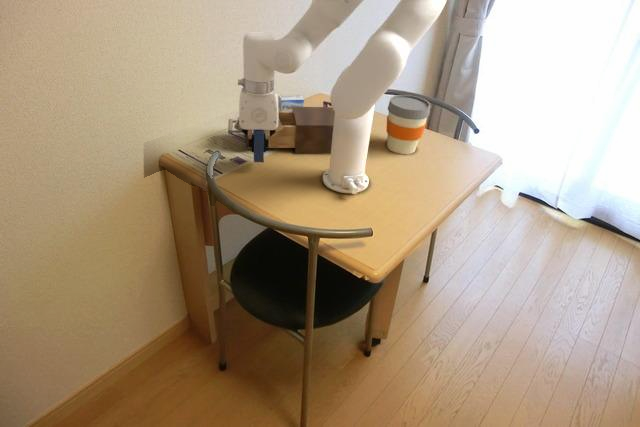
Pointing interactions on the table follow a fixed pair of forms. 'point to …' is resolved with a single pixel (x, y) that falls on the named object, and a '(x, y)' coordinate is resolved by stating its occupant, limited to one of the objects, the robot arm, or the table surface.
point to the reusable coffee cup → (406, 122)
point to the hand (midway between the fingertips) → (258, 149)
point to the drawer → (280, 138)
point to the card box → (258, 145)
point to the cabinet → (313, 129)
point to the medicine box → (289, 102)
